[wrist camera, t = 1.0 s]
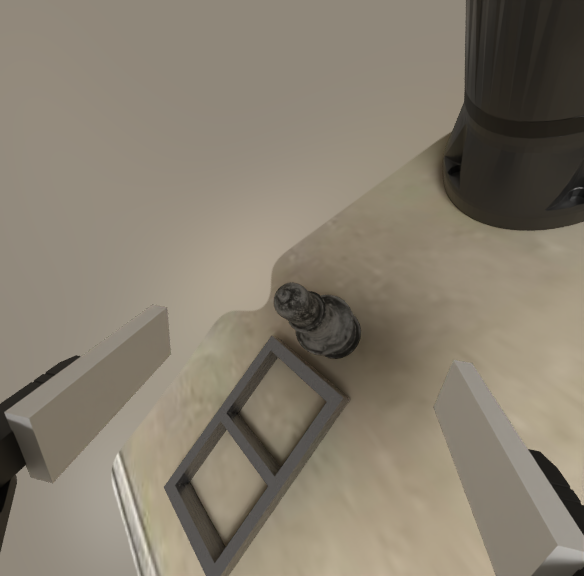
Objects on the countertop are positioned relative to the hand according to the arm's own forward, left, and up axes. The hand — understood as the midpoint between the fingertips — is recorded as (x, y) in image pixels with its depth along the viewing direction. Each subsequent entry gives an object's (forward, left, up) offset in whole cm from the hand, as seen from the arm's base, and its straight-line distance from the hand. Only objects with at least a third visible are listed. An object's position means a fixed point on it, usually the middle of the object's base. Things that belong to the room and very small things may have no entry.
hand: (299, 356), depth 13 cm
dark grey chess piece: (-2, -6, -16) cm, 17 cm away
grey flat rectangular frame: (+12, -6, -16) cm, 21 cm away
